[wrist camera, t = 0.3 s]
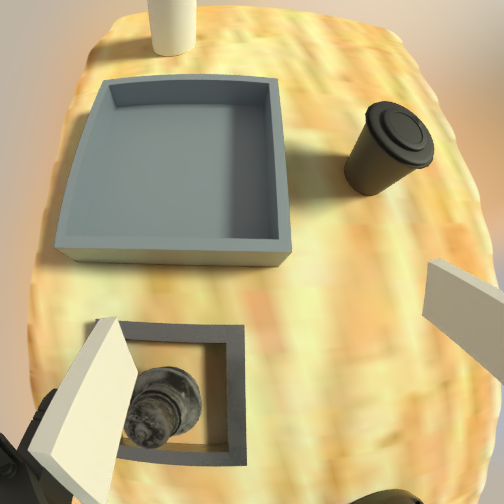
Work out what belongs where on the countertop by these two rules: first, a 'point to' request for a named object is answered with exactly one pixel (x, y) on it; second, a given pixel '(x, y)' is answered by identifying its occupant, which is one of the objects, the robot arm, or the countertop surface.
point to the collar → (234, 391)
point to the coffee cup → (388, 148)
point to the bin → (180, 174)
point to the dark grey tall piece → (162, 406)
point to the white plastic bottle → (172, 26)
